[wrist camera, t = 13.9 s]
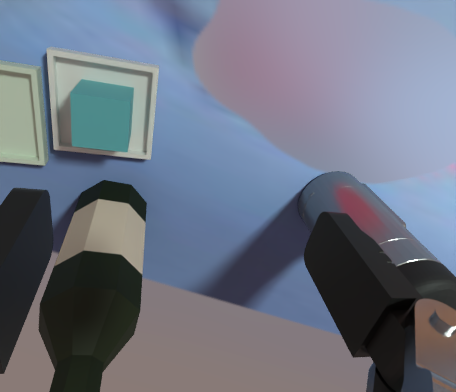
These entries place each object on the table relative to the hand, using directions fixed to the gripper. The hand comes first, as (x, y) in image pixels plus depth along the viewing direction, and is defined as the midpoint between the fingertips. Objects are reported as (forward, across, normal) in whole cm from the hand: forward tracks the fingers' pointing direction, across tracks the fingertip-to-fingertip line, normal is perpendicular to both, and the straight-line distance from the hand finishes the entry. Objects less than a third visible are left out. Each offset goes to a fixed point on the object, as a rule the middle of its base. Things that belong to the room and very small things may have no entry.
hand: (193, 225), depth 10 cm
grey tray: (+28, +6, +6) cm, 29 cm away
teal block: (+28, +6, +6) cm, 29 cm away
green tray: (+28, +17, +8) cm, 34 cm away
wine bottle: (+28, +5, +19) cm, 34 cm away
